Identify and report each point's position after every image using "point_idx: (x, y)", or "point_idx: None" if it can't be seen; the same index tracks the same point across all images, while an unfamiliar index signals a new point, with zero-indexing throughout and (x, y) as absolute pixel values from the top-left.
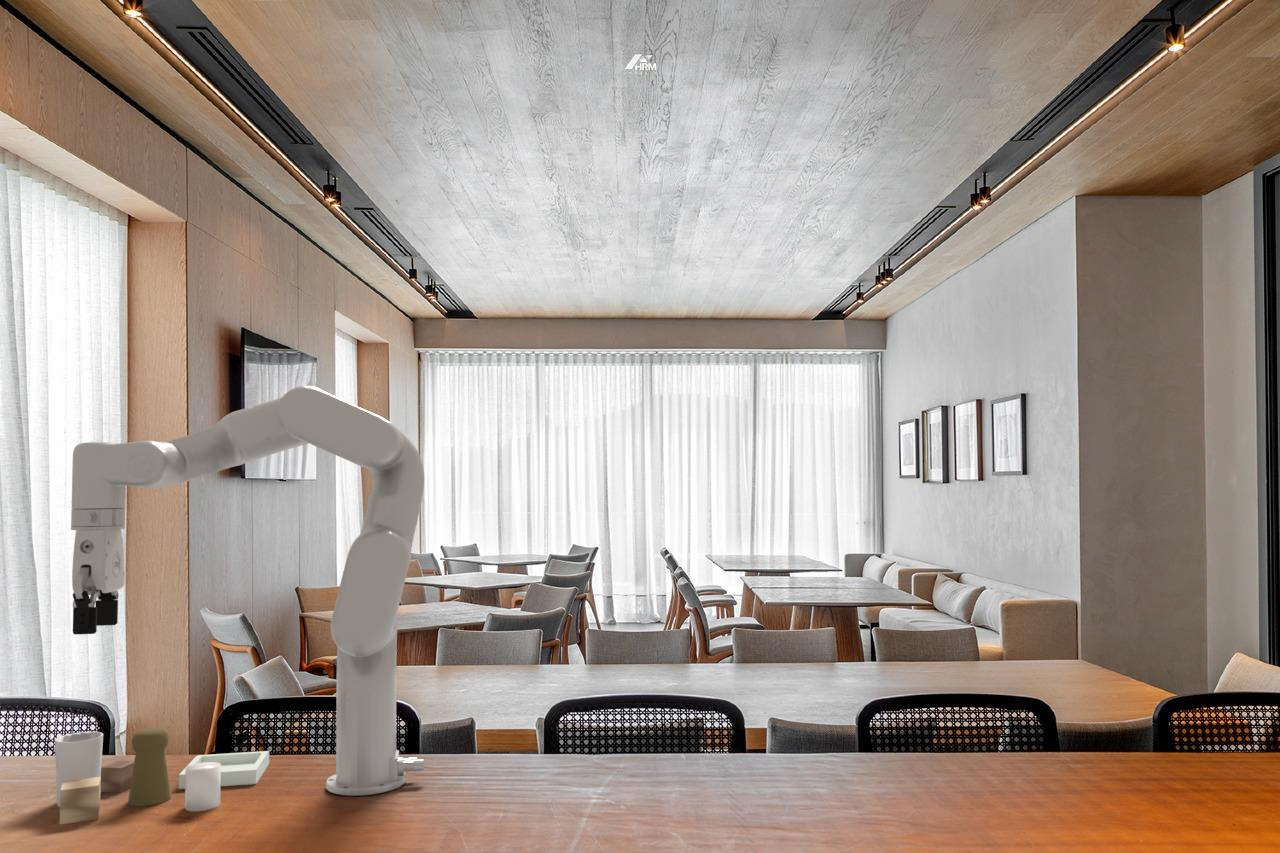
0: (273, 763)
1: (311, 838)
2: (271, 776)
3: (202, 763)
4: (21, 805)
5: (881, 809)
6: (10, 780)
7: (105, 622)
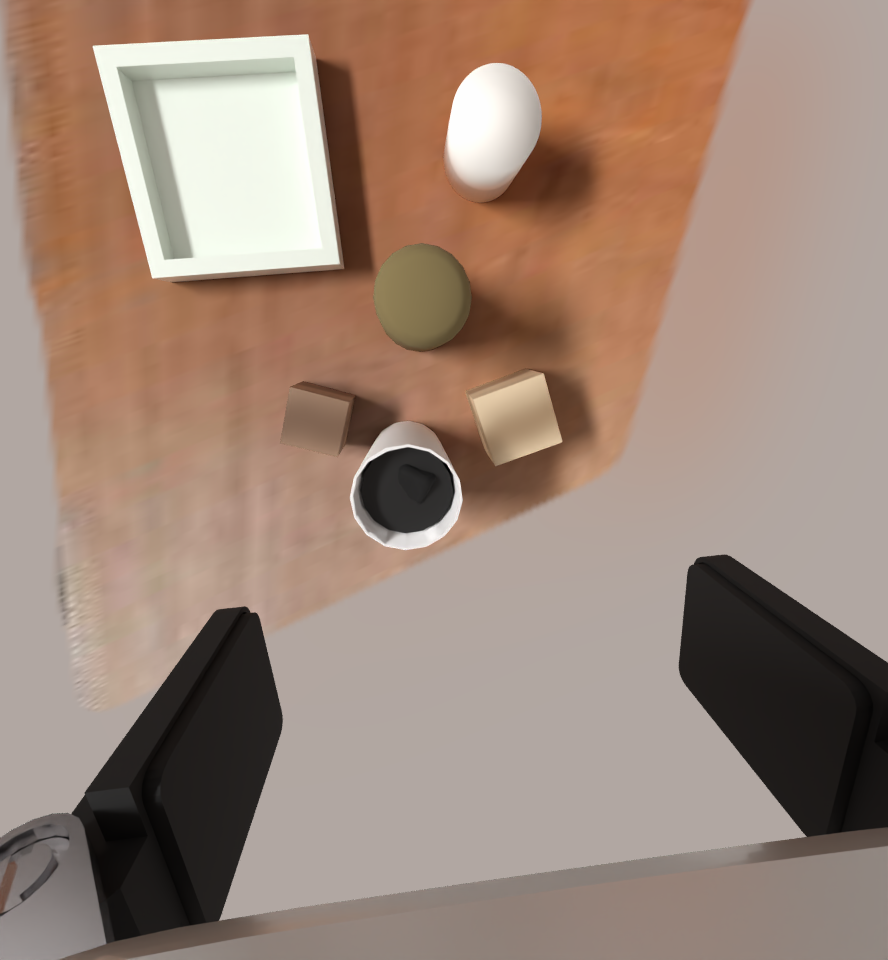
0: None
1: None
2: (243, 27)
3: (464, 132)
4: None
5: None
6: None
7: (263, 680)
